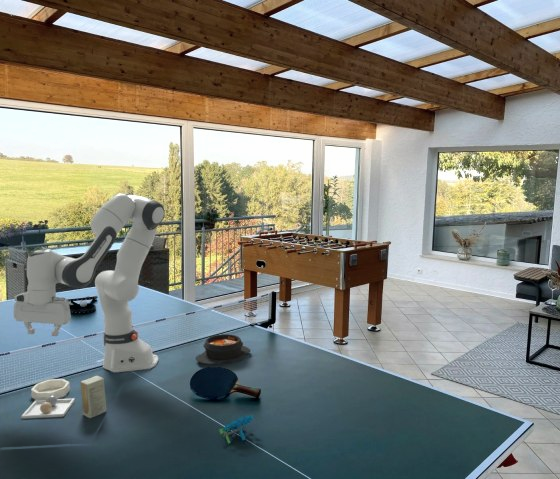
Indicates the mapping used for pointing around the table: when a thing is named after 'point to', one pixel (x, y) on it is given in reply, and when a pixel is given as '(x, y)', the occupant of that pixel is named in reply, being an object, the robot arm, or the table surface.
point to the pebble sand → (46, 407)
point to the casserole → (222, 349)
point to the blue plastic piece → (236, 427)
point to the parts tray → (56, 410)
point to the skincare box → (93, 396)
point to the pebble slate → (52, 400)
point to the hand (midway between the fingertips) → (43, 334)
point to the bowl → (50, 389)
